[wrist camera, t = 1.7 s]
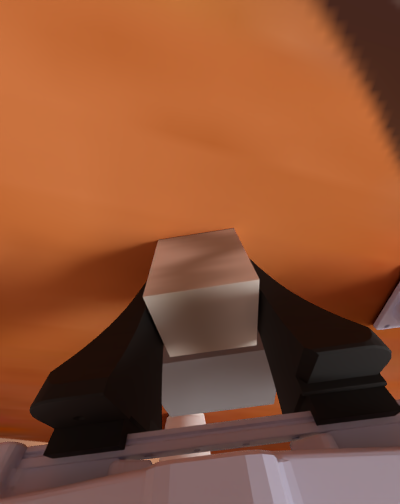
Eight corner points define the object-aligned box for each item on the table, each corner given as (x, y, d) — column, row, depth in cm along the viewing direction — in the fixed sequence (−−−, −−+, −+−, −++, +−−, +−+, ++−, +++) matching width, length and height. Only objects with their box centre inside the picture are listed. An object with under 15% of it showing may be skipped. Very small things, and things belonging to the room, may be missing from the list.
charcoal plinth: (270, 315, 17) (285, 346, 14) (264, 374, 23) (273, 403, 21) (143, 333, 17) (136, 367, 15) (172, 387, 24) (170, 417, 21)
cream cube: (233, 228, 12) (259, 279, 8) (236, 284, 15) (256, 344, 10) (158, 240, 12) (142, 297, 8) (174, 293, 15) (169, 357, 10)
